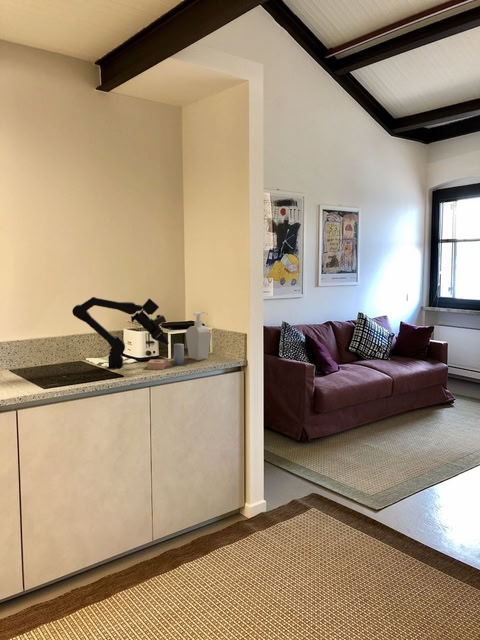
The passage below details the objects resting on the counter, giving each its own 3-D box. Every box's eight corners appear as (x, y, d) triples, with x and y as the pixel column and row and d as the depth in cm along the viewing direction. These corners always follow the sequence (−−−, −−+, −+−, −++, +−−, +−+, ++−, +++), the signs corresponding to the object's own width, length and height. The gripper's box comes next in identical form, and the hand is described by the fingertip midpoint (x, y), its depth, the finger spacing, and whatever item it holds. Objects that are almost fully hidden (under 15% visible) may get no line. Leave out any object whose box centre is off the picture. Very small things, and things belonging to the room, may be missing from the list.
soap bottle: (213, 359, 288) (213, 312, 285) (198, 361, 282) (198, 313, 279) (200, 355, 297) (200, 310, 294) (185, 358, 291) (185, 311, 288)
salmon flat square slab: (147, 369, 260) (147, 362, 260) (150, 366, 268) (150, 359, 268) (163, 369, 260) (163, 362, 260) (166, 366, 268) (166, 359, 268)
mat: (168, 366, 267) (168, 366, 267) (171, 363, 276) (171, 362, 276) (186, 367, 267) (186, 366, 267) (188, 363, 276) (188, 362, 276)
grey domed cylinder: (173, 365, 269) (173, 345, 268) (174, 363, 274) (174, 343, 273) (183, 365, 269) (183, 345, 268) (184, 363, 274) (184, 343, 273)
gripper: (158, 312, 257) (180, 333, 261) (155, 308, 275) (176, 328, 279) (141, 328, 256) (164, 349, 260) (140, 323, 274) (161, 343, 278)
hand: (167, 342), depth 269 cm, fingers open, 9 cm apart
